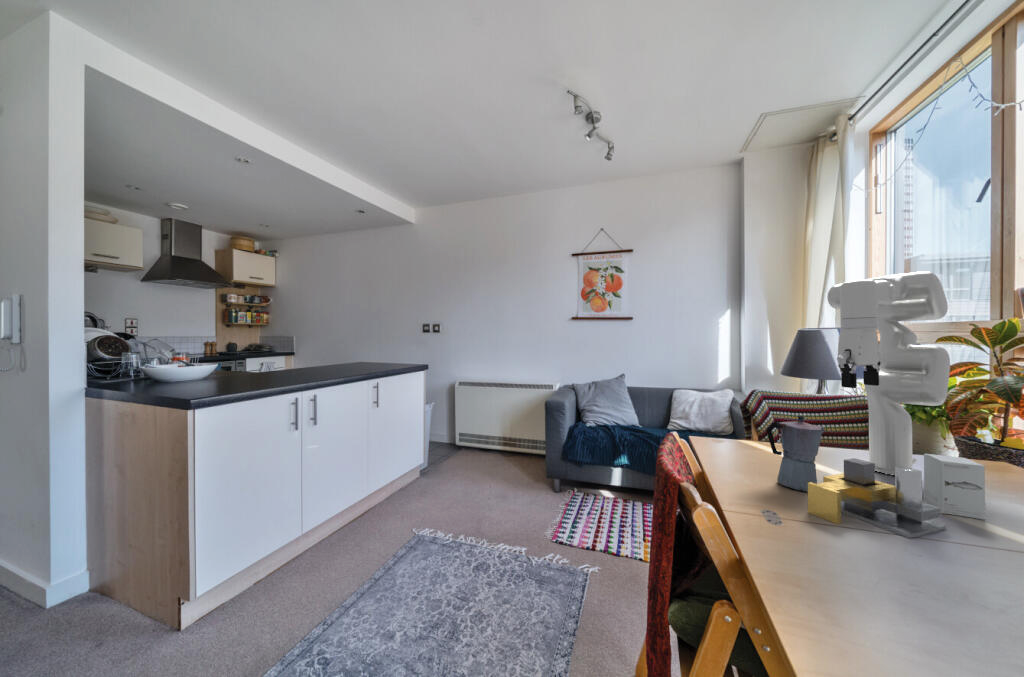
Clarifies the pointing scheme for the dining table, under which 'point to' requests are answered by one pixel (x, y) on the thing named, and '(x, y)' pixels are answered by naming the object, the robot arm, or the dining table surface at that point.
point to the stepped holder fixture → (877, 503)
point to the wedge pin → (859, 475)
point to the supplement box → (955, 485)
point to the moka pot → (797, 452)
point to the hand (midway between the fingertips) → (860, 386)
